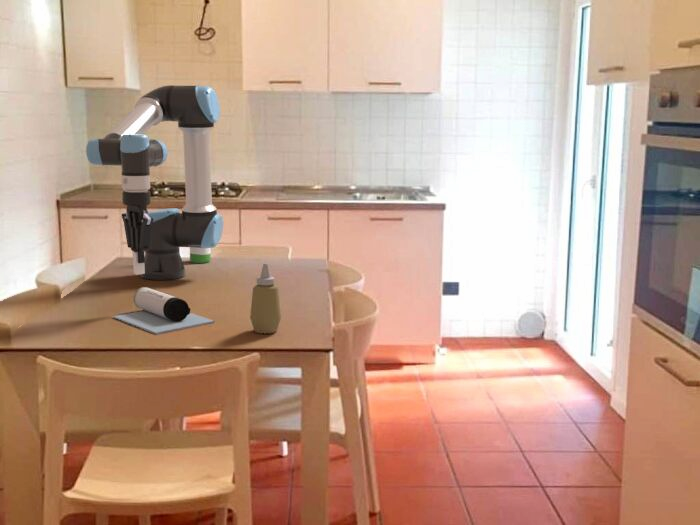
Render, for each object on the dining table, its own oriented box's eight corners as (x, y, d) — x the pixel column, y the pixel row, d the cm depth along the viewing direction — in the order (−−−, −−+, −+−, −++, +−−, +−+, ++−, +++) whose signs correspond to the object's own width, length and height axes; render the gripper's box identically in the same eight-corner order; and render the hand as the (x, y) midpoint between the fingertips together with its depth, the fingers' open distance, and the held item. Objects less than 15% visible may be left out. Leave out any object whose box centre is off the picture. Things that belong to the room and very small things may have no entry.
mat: (113, 318, 218) (113, 316, 218) (170, 307, 231) (170, 306, 231) (156, 334, 203) (156, 332, 203) (214, 322, 215) (214, 320, 215)
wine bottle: (193, 259, 307) (192, 182, 301) (213, 260, 306) (212, 182, 300) (187, 263, 299) (185, 183, 294) (207, 264, 298) (205, 184, 293)
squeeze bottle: (250, 327, 211) (250, 261, 208) (281, 327, 212) (281, 261, 209) (249, 335, 204) (249, 266, 200) (281, 335, 204) (281, 266, 201)
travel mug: (152, 309, 230) (188, 322, 215) (131, 307, 225) (167, 321, 211) (155, 287, 229) (192, 300, 215) (135, 286, 225) (171, 298, 210)
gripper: (111, 189, 221) (115, 272, 226) (136, 193, 212) (139, 279, 217) (135, 187, 227) (138, 268, 231) (160, 191, 218) (163, 275, 222)
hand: (139, 273), depth 224 cm, fingers closed
